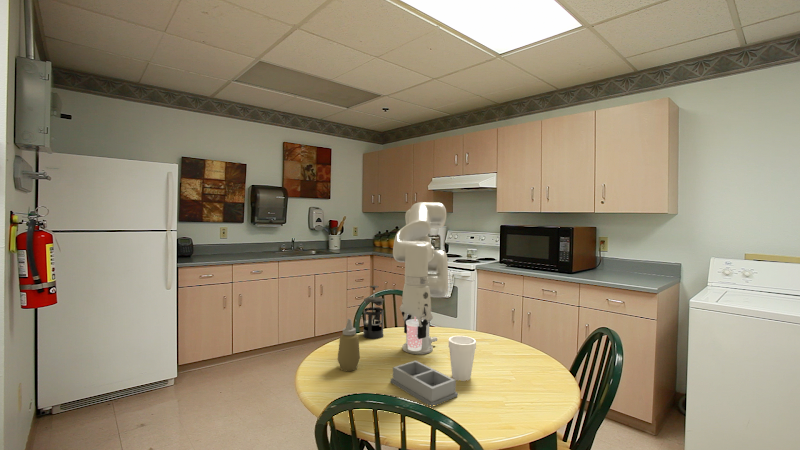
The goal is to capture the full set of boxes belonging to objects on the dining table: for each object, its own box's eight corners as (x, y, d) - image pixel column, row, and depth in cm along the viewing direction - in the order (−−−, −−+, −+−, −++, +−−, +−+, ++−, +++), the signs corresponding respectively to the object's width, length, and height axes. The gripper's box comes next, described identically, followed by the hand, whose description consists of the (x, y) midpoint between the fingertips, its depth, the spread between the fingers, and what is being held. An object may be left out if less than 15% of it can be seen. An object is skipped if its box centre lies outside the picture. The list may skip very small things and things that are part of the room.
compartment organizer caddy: (390, 382, 127) (390, 367, 127) (415, 374, 134) (415, 359, 134) (431, 407, 111) (432, 390, 111) (457, 396, 118) (458, 380, 118)
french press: (378, 340, 168) (379, 288, 167) (359, 338, 170) (359, 287, 169) (387, 332, 179) (388, 284, 178) (368, 330, 182) (369, 282, 181)
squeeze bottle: (355, 374, 133) (356, 323, 132) (334, 371, 134) (334, 321, 134) (362, 365, 141) (363, 316, 140) (342, 362, 142) (342, 315, 142)
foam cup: (476, 373, 135) (477, 337, 135) (473, 384, 126) (474, 346, 126) (450, 369, 138) (451, 334, 138) (445, 380, 129) (445, 342, 129)
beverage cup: (407, 344, 129) (408, 303, 129) (425, 346, 128) (426, 305, 127) (403, 350, 123) (404, 307, 123) (421, 352, 122) (422, 309, 121)
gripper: (442, 284, 120) (441, 340, 121) (408, 276, 134) (407, 326, 134) (425, 286, 116) (423, 345, 116) (391, 278, 129) (390, 330, 130)
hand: (414, 334), depth 125 cm, fingers closed on beverage cup, 6 cm apart
